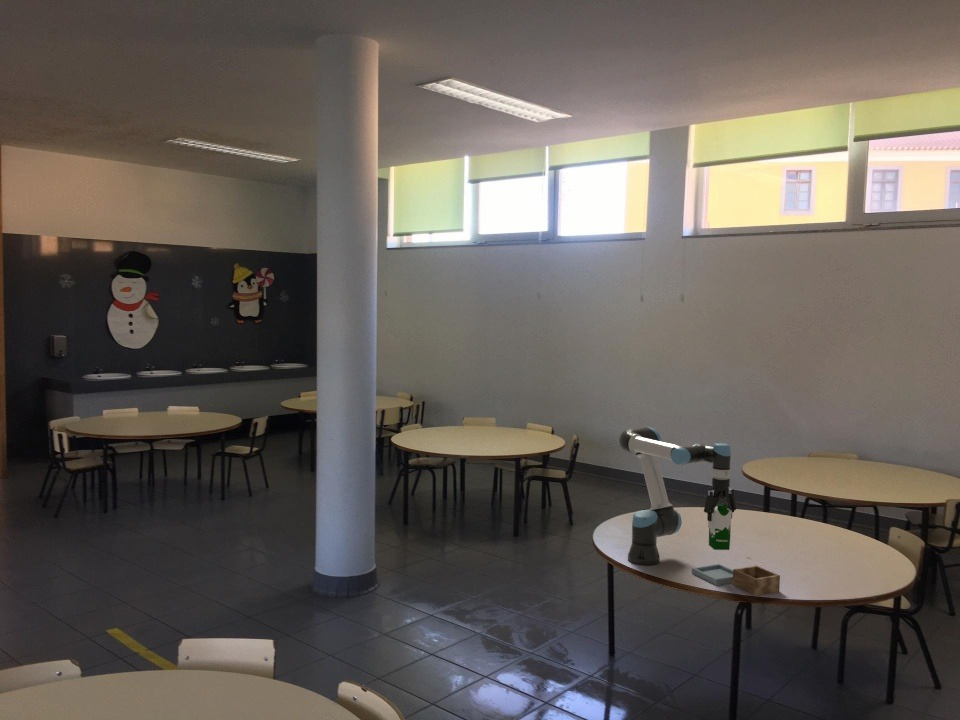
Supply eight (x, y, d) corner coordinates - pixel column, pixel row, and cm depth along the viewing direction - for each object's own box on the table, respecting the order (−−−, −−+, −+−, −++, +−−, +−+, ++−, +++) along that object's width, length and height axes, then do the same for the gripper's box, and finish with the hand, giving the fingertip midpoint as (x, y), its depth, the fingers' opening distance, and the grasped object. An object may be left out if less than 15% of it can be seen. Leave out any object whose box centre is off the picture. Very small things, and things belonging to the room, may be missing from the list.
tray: (716, 585, 316) (716, 579, 316) (691, 573, 331) (692, 568, 331) (744, 580, 323) (744, 575, 323) (719, 569, 337) (719, 563, 337)
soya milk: (712, 550, 321) (714, 506, 320) (705, 544, 330) (707, 501, 329) (732, 550, 322) (734, 506, 321) (724, 544, 331) (726, 501, 330)
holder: (755, 595, 305) (756, 579, 304) (732, 584, 317) (733, 569, 317) (779, 591, 310) (779, 575, 310) (755, 580, 323) (756, 565, 322)
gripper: (707, 481, 316) (706, 531, 318) (745, 477, 325) (744, 526, 326) (696, 478, 323) (694, 527, 325) (733, 474, 332) (732, 522, 333)
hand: (719, 526), depth 325 cm, fingers closed on soya milk, 9 cm apart
